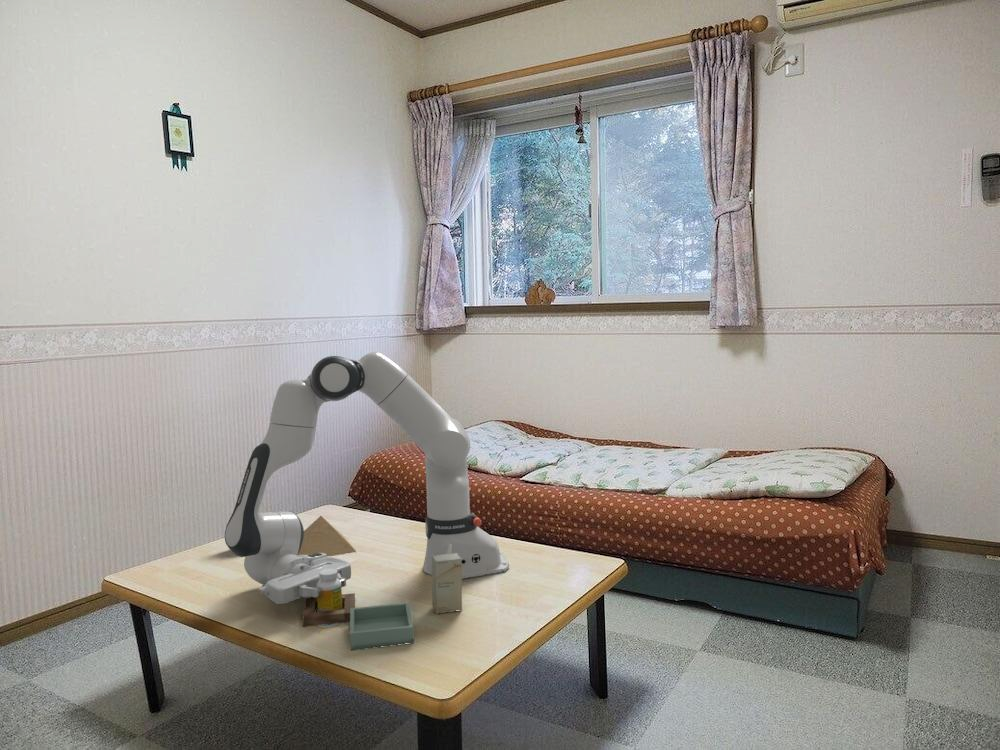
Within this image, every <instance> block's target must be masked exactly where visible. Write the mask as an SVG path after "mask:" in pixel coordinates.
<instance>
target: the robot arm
mask: <svg viewBox="0 0 1000 750" xmlns="http://www.w3.org/2000/svg"><path fill="white" fill-rule="evenodd" d="M355 392H360V393H362V394H365V395H366V397H368V398H369V399H371V400H372V401H373V403H375V405H376V406H378V407H379V408H380V410H381V411H383V412H384V413H385V414H386V415H387V416H388V417H389V418H390V419H391V420H393V421H392V422H394V423H395V424H396V425H397V426H398V427H400V429H401V430H403V432H404V433H405V434H406V436H408V438H410V439H411V441H412V442H413V443H414V444H415V445H416V447H418V448H419V449H420V450H421V451H422V452H423V453H424V460H425V462H424V464H425V479H426V480H425V482H426V483H425V485H426V511H427V514H426V515H425V535H426V538H427V539H426V549H425V556H424V561H423V566H422V570H423V572H425V573H426V574H428V575H431V576H432V555H442V554H452V553H458V554H459V556H460V557H461V571H462V580H464V579H468V578H469V577H470V578H474V577H480V576H486V575H485V574H487V575H492V574H491V573H493V574H496V573H495V572H499V573H503V572H502V571H504V572H506V571H505V570H507V569H509V568H510V563H509V560H508V557H507V556H505V554H503V553H501V552H500V548H499V544H498V542H497V540H496V539H495V538H494V537H493V536H492V535H490V534H489V533H487V532H486V531H484V530H483V529H482V528H481V526H482V523H483V522H482V520H481V518H480V517H478V515H476V514H475V513H474V512H471V511H470V510H471V509H470V508H471V507H470V505H471V504H470V483H469V482H470V481H469V470H468V458H467V457H468V455H469V454H470V450H471V442H470V437H469V436H468V433H467V432H466V429H465V428H464V427H463V425H462V424H461V423H460V422H459V421H458V420H457V419H455V418H454V417H452V416H450V415H449V414H448V413H447V412H446V411H445V409H444V408H442V406H441V405H439V404H438V402H437V401H436V400H435V399H434V398H433V397H432V396H431V395H430V393H428V392H427V391H426V390H425V389H424V388H423V387H422V386H421V385H419V383H418V382H417V381H415V380H414V378H413V377H412V376H411V375H410V374H408V373H407V371H405V369H403V368H402V367H401V366H400V365H398V364H397V363H396V362H394V361H393V360H392V359H391V358H389V357H387V356H386V355H384V354H383V353H382V352H378V351H372V352H368V353H367V354H365V355H362V357H361V358H359V359H358V360H355V359H352V358H351V359H350V358H347V357H343V356H338V355H329V356H326V357H323V358H322V359H320V360H319V361H317V362H316V363H315V365H314V366H313V367H312V370H311V373H310V374H309V375H308V376H307V378H306V379H289V380H287V381H284V382H283V383H282V384H280V385H279V386H278V388H277V391H276V394H275V396H274V401H273V405H272V408H271V413H270V419H269V424H268V429H267V432H266V435H265V436H264V439H263V440H262V441H261V443H260V444H259V445H257V446H255V448H254V449H253V450H252V453H251V454H250V457H249V460H248V463H247V465H246V468H245V472H244V475H243V478H242V482H241V485H240V489H239V493H238V496H237V498H236V499H237V500H236V502H235V505H234V509H233V511H232V514H231V516H230V518H229V520H228V522H227V524H226V527H225V530H224V542H225V544H226V546H227V548H228V549H229V550H230V551H231V552H232V553H233V554H234V555H236V556H237V557H239V558H244V560H243V561H244V562H243V566H244V567H243V568H244V570H245V572H246V574H247V575H248V577H250V579H252V580H254V581H255V582H257V583H259V584H261V587H259V589H258V592H260V593H261V594H264V595H266V598H267V599H269V600H270V601H271V602H273V603H274V604H277V605H286V604H288V603H291V602H293V601H296V600H298V599H300V598H304V597H305V598H310V597H315V598H317V597H319V596H321V595H322V593H321V592H322V590H321V588H318V587H317V583H318V582H319V581H320V578H319V572H320V571H322V570H324V569H336V570H337V572H338V577H337V578H338V579H339V580H340V581H341V589H342V588H344V587H347V580H350V579H351V577H352V566H351V563H350V562H348V561H346V560H343V559H341V558H337V557H334V556H329V557H327V555H326V554H325V553H316V554H310V555H298V554H299V551H300V548H301V546H302V542H303V537H304V531H305V529H304V525H303V523H302V521H301V519H300V517H299V516H298V515H297V514H296V513H295V512H293V511H289V510H288V511H287V510H286V511H267V512H266V511H264V512H263V511H262V512H260V507H261V504H262V501H263V497H264V493H265V492H266V491H265V490H266V487H267V484H268V481H269V479H270V478H271V476H272V475H273V474H274V473H275V472H277V471H278V470H280V469H281V468H283V467H285V466H289V465H291V464H294V463H296V462H298V461H300V460H301V459H303V458H304V457H305V456H306V455H308V454H309V453H310V452H311V450H312V447H313V445H314V442H315V437H316V431H317V429H316V428H317V421H318V415H319V411H320V408H321V407H322V406H323V404H325V403H327V402H338V401H342V400H344V399H346V398H348V397H349V396H351V395H353V394H354V393H355ZM508 567H509V568H508ZM507 571H508V570H507Z"/></svg>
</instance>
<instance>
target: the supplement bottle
mask: <svg viewBox="0 0 1000 750" xmlns="http://www.w3.org/2000/svg"><path fill="white" fill-rule="evenodd" d="M337 577H338V572H337V570H336V569H324V570H322V571H320V572H319V578H320V581H319V582H318V583H317V587H318V588H321V590H322V592H321V593H322V595H321V596H319V597H317V606H318V609H317V612H322V611H332V610H342V609H343V607H342V593H343V591H342V588H341V581H340V580H339V579H338V578H337Z"/></svg>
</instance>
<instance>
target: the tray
mask: <svg viewBox="0 0 1000 750" xmlns="http://www.w3.org/2000/svg"><path fill="white" fill-rule="evenodd" d="M349 625H350V626H349V629H350V630H349V638H350V651H356V650H355V649H360V650H366V649H365V648H369V649H374V648H373V647H378V648H382V647H381V646H387V647H391V646H390V645H396V646H399V645H398V644H405V643H414V644H415V633H414V632H415V631H414V628H415V627H414V622H413V617H412V611H411V607H410V602H401V603H391V604H390V603H389V604H382V605H381V604H380V605H379V604H378V605H372V606H371V605H370V606H363V607H362V606H360V607H359V606H358V607H355V608H350V622H349ZM405 645H406V644H405Z"/></svg>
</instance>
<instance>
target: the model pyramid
mask: <svg viewBox="0 0 1000 750" xmlns="http://www.w3.org/2000/svg"><path fill="white" fill-rule="evenodd" d="M347 540H348V539H347V538H346V537H345V536H344V534H343V533H341V532H340V531H339V530H338V529H336V527H334V526H333V525H332V524H331V523H330V522H329V521H328V520H327V519H325V518H324V517H323V516H322V515H320V516H319V517H318V518H316V520H315V521H313V522H312V523H311V524H310V525H309V526H307V528H306V529H304V537H303V542H302V546H301V548H300V551H299V554H298V555H310V554H316V553H325V554H326V555H327V556H329V557H334V556H339V555H347V554H353V552H354V553H357V552H356V551H357V550H356V549H355V548H354V546H353V545H352V544H351V543H350V542H349V540H348V541H347ZM346 553H347V554H346Z"/></svg>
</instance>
